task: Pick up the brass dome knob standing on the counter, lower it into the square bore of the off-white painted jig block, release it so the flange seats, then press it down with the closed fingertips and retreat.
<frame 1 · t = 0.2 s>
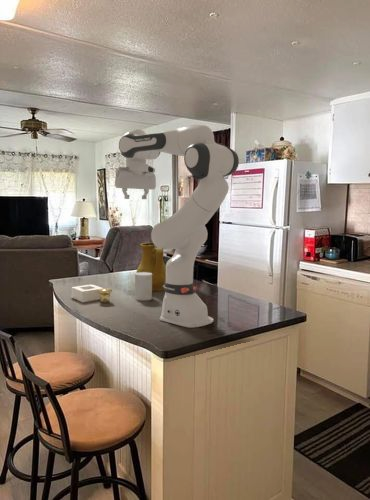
hand: (135, 199, 179), 47 cm above the countertop, fingers open, 8 cm apart
pitcher: (152, 289, 210), on the countertop
brass dome knob: (105, 301, 182), on the countertop
white cylinder: (143, 298, 190), on the countertop
jig: (87, 298, 188), on the countertop
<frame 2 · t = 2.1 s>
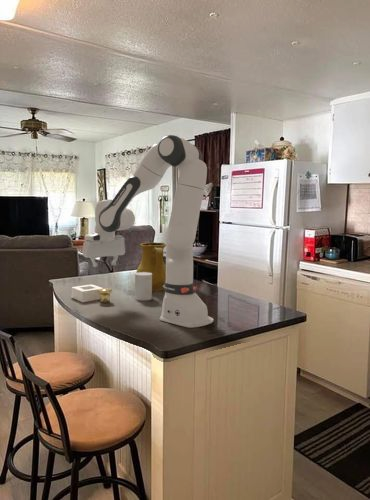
hand: (104, 266, 180), 17 cm above the countertop, fingers open, 8 cm apart
nothing on the countertop moved.
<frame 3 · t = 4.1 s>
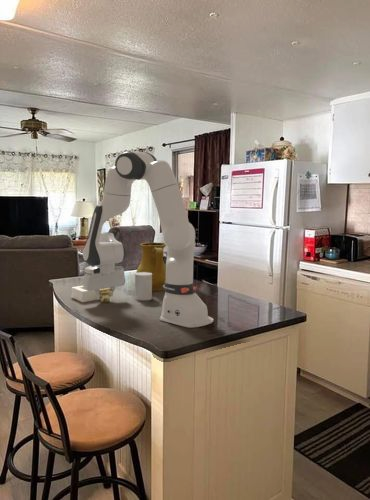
hand: (105, 297, 182), 2 cm above the countertop, fingers closed on brass dome knob, 4 cm apart
brass dome knob: (105, 301, 182), on the countertop, touching gripper
everything else where it was.
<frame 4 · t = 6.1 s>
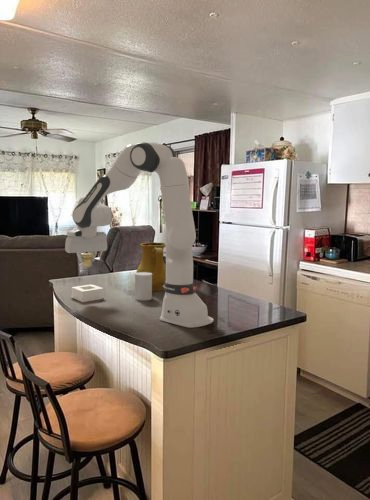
hand: (86, 261, 186), 18 cm above the countertop, fingers closed on brass dome knob, 4 cm apart
brass dome knob: (86, 266, 186), point 15 cm above the countertop, touching gripper
everything else where it was.
when the fingers open (6 cm above the countertop, at t = 8.1 s): brass dome knob stays where it is, point 3 cm above the countertop.
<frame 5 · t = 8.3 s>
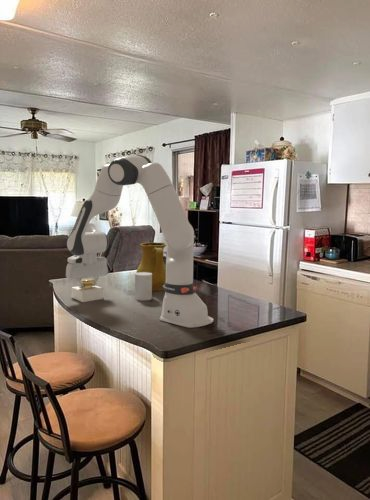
hand: (87, 286, 188), 6 cm above the countertop, fingers open, 5 cm apart
brass dome knob: (87, 292, 188), point 3 cm above the countertop
everything else where it was.
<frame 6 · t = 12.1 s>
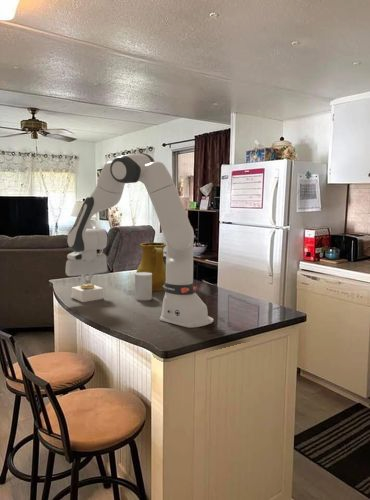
hand: (87, 283, 187), 7 cm above the countertop, fingers closed
brass dome knob: (87, 297, 188), resting in jig
everything else where it was.
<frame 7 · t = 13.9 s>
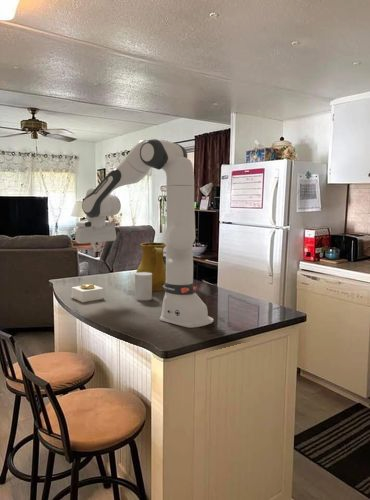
hand: (97, 251, 189), 22 cm above the countertop, fingers closed
nothing on the countertop moved.
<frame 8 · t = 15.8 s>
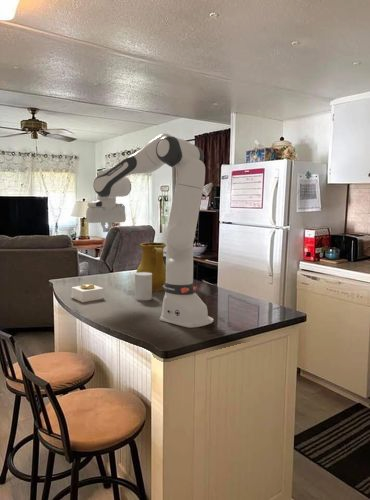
hand: (106, 231, 192), 31 cm above the countertop, fingers closed
nothing on the countertop moved.
at the end: brass dome knob 0.1 cm off-centre on the jig, point 0.5 cm above the jig's base; brass dome knob tilted 0°; the gripper is holding nothing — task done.
